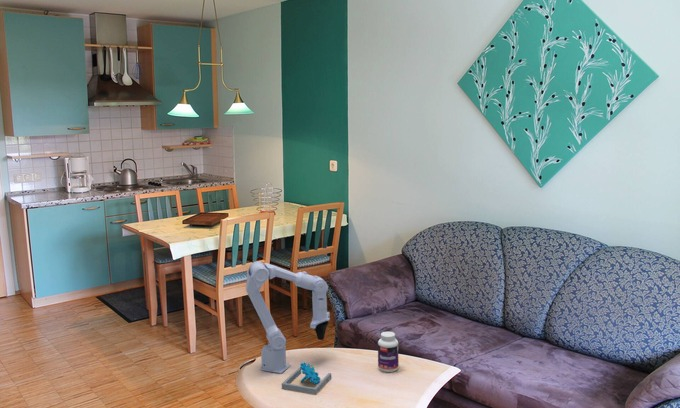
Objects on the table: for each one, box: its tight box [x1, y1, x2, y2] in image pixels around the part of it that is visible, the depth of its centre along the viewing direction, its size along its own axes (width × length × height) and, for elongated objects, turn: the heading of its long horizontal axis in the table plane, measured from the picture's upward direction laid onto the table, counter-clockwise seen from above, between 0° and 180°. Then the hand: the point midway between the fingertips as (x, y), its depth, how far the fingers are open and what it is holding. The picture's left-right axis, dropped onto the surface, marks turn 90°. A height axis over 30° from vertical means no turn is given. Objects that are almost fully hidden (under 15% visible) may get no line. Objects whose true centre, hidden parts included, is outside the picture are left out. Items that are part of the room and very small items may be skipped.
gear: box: [299, 361, 321, 386], centre depth 225 cm, size 11×6×10 cm
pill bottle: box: [377, 331, 400, 373], centre depth 233 cm, size 8×8×14 cm
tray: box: [281, 367, 332, 396], centre depth 224 cm, size 14×14×2 cm
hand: (320, 339), depth 242 cm, fingers closed
